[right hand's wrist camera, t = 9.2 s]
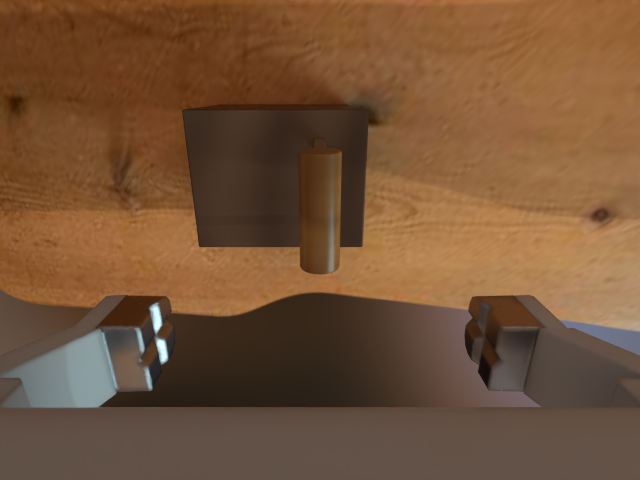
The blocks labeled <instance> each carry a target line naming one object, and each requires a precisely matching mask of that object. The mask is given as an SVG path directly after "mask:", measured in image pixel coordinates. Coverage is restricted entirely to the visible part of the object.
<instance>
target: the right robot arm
mask: <svg viewBox="0 0 640 480" xmlns="http://www.w3.org/2000/svg"><path fill="white" fill-rule="evenodd" d="M171 311H172V310H171V305H170V300H169V299H168V298H167V297H166V296H133V295H130V296H128V295H112V296H106V297H105V298H104V299H103V300H102V301H101V302H100V303H99V304H98V305H97V306H96V307H95V308H94V309H92V310H91V311H90V312H89V313H88V314H87V315H86V316H85V317H84V318H83V319H82V320H81V321H80V322H79V323H78V324H77V325H75V326H74V327H73V328H66V329H63V330H61V331H59V332H56V333H54V334H51V335H49V336H47V337H44V338H42V339H39V340H37V341H35V342H32V343H30V344H27V345H25V346H22V347H20V348H18V349H15V350H13V351H10V352H8V353H6V354H3V355H1V356H0V480H640V356H639V355H637V354H634V353H632V352H629V351H627V350H625V349H622V348H620V347H617V346H615V345H613V344H610V343H608V342H605V341H603V340H601V339H598V338H596V337H593V336H591V335H588V334H586V333H584V332H581V331H579V330H577V329H574V328H567V327H566V326H565V325H564V324H562V323H561V322H560V321H559V320H558V319H557V318H556V317H555V316H554V315H553V314H552V313H551V312H550V311H549V310H548V309H547V308H545V307H544V306H543V305H542V304H541V303H540V302H539V301H538V300H537V299H536V298H535V297H534V296H531V295H516V296H513V295H511V296H476V297H472V299H471V301H470V304H469V310H468V311H469V313H470V314H471V316H472V317H473V318H472V319H471V320H470V321H469V322H468V324H467V325H466V329H465V346H466V349H467V353H468V355H469V357H470V358H471V360H472V361H474V362H475V363H477V364H478V365H479V370H478V373H479V374H480V376H481V378H482V380H483V381H484V383H485V385H486V386H487V388H488V390H489V391H520V392H524V394H525V395H527V396H528V397H529V398H531V399H532V400H533V401H535V402H536V403H537V404H539V405H540V406H541V407H99V406H100V405H101V404H103V403H104V402H105V401H107V400H108V399H109V398H111V397H112V396H113V395H115V394H116V392H120V391H151V390H152V388H153V387H154V385H155V383H156V381H157V380H158V378H159V376H160V374H161V373H162V369H161V365H162V364H163V363H165V362H166V361H168V360H169V358H170V356H171V355H172V353H173V349H174V345H175V328H174V325H173V324H172V323H171V322H170V320H169V319H168V318H167V317H168V316H169V314H170V313H171Z"/></svg>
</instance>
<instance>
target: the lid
mask: <svg viewBox="0 0 640 480" xmlns="http://www.w3.org/2000/svg"><path fill="white" fill-rule="evenodd" d="M182 113H183V121H184V129H185V137H186V145H187V153H188V161H189V169H190V177H191V185H192V193H193V201H194V209H195V217H196V225H197V233H198V241H199V247H300V267H301V268H302V270H304V271H305V272H308V273H312V274H328V273H332V272H334V271H336V270H337V269H338V268H339V263H340V247H362V246H363V227H364V205H365V182H366V160H367V138H368V115H369V110H367V109H183V110H182Z"/></svg>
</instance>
